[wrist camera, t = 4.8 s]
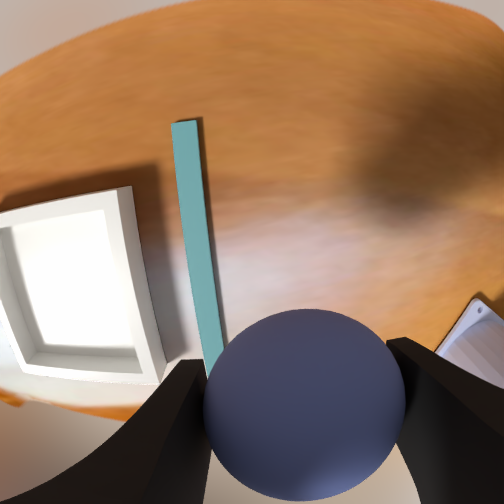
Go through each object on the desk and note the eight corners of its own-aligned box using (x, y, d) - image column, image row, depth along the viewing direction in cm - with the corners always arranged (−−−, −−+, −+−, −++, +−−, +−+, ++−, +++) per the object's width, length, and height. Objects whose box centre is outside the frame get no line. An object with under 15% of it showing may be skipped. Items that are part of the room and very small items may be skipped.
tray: (131, 185, 15) (116, 189, 13) (167, 364, 18) (159, 384, 16) (-7, 213, 15) (-26, 220, 13) (36, 357, 18) (23, 372, 16)
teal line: (231, 395, 19) (231, 398, 18) (213, 395, 19) (212, 398, 18) (196, 120, 14) (195, 119, 14) (172, 124, 14) (171, 123, 14)
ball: (397, 320, 9) (478, 426, 4) (310, 421, 11) (334, 535, 6) (264, 246, 8) (285, 359, 4) (186, 374, 10) (157, 504, 5)
